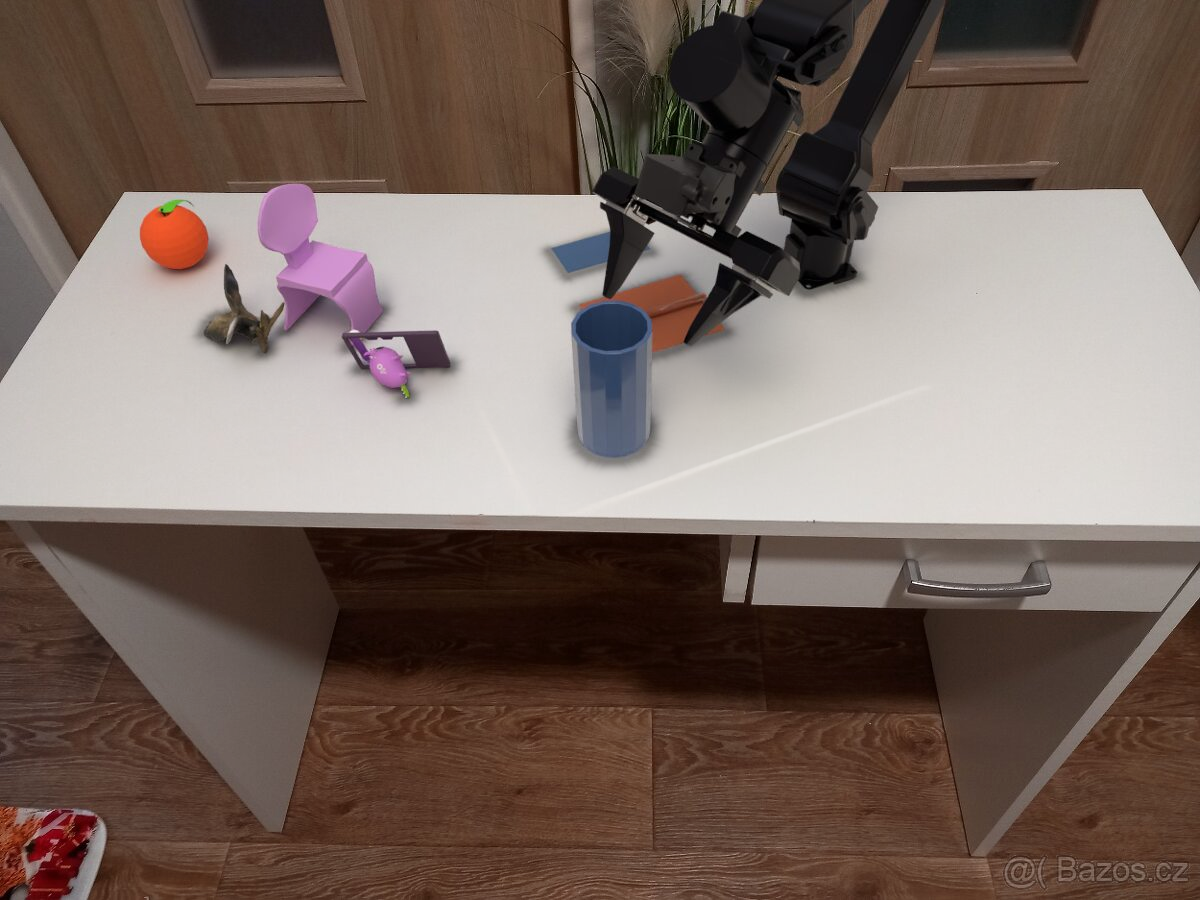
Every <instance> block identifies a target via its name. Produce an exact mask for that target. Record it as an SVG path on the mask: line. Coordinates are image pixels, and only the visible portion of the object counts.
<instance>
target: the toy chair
mask: <svg viewBox="0 0 1200 900" xmlns="http://www.w3.org/2000/svg"><path fill="white" fill-rule="evenodd" d="M317 208H318V207H317V202H316V197H315V194H314V192H313V190H312V189H311V187H310V186H308V185H306V184H304V183H287V184H282V185H278V186H276V187H273V188H271V189H269V191H268V192H266V193H265V195H264V196H263V197H262V200H261V203H260V206H259V209H258V210H259V211H258V216H257V236H258V239H259V242H260V244H261V245H262V246H263V247H264V249H267V250H269V251H272V252H275V253H279V254H281V255H283V257H284V259H285V261H286V263H287V265H286V266H285V267H284V268H283V269H282V270H281V271H280V272H279V273H278V274H277V275H275V278H276V282H277V285H276V289H277V290H278V292H279V293H280V295H281V296H282V298H283V301H284V303H285V305H284V306H285V316H284V317H285V318H284V325H283V331H288V330H289V329H290V328H291V327H292V326H293V325H294V324H295V323H296V322H297V321H298V319H300V317H302V316H303V314H304V313H305V312H307V310H308V309H309V308H310V307H311V306H312V305H313V304H314V302H316V300H317V299H318V298H319V297H320V296H322V297H326V298H328V299H330V300H332V301H333V302H334V303H335V304H336V305H337V306H338V307H339V308H340V309H342V310H343V311H344V312H345V313H346V315H347V316H348V318H349V319H350V327H351V328H350V331H351V330H358V331H359V332H368V330H369V329H370V327H372V325H373V324H374V323H375V322H376V321H377V320H378V319H379V317H380V316H381V315H382V314H383V312H384V309H383V307H382V305H381V303H380V300H379V297H378V292H377V286H376V278H375V270H374V267H373V264H372V263H371V262H370V260H369V259H368V256H367V255H368V254H367V253H366V252H363V251H359V250H354V249H348V248H343V247H338V246H334V245H331V244H328V243H325V242H321V241H316V240H311V241H310V236H311V235H312V233H313V231H314V230H315V228H316V226H317V224H318V222H319V218H318V209H317ZM350 342H351V344H352V346H353V347H355V345H354V344H353V342H352V341H351V340H350Z"/></svg>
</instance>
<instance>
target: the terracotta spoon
mask: <svg viewBox="0 0 1200 900" xmlns="http://www.w3.org/2000/svg"><path fill="white" fill-rule="evenodd" d="M696 294H697V295H693V296H690V297H687V298H684V299H680V300H677V301H674V302H671V303H667V304H664V305H661V306H658V307H654V308H651V309H648V310H645V312H646V313H647V315H648V316H649V317H650V318H652V317H655V316H658V315H661V314H665V313H668V312H671V311H674V310H678V309H681V308H684V307H687V306H690V305H694V304H697V303H700V302H705V300H706V299H707V297H708V295H707V294H706V293H705V292H700V293H696Z"/></svg>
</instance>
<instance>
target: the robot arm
mask: <svg viewBox="0 0 1200 900" xmlns="http://www.w3.org/2000/svg"><path fill="white" fill-rule="evenodd" d="M872 1H873V0H761V1H760V2H759V3H758V5H757V6H755V8H753V9H752V10H751V11H749V12H748V13H747V14H745V15H744V16H740V15H737V14H734V13H732V12H728V11H726V10H722V11H720V13H719V14H718V16H717V18H716V20H715V23H714V24H711V25H707V26H703V27H701V28H699V29H697V30H695V31H693V32H692V33H691V34H689V35H688V36H687V37H685V39H684V40H683V41H682V42H681V43H679V44H678V45H677V46H676V48H675V50H674V51H673V54H672V56H671V58H670V62H669V69H668V77H669V79H668V80H669V82H670V86H671V88H672V90H673V91H674V93H675V94H676V96H678V97H679V98H680V99H681V100H682V102H684V103H685V104H686V106H687V107H689V108H690V109H691V110H692V111H693V112H694V113H695V114H696V115H697V116H698V117H699V118H700V119H701V120H702V121H703V122H704V123H705V124H706V125H707V126H709V128H708V130H707V132H706V134H705V136H704V138H703V140H702V141H701V142H699V141H697V140H695V139H693V140H692V142H691V143H690V144H689V145H687V147H686V149H685V151H684V153H683V154H682V155H681V156H677V155H673V154H655V153H654V154H653V153H647V154H645V157H644V160H643V163H642V166H641V170H640V174H639V177H637V176H634V175H632V174H630V173H628V172H626V171H624V170H622V169H620V168H618V167H616V166H611V167H610V168H609V169H607V170H605V171H603V172H602V173H601V174H600V175H599V177H598V179H597V181H596V183H595V185H594V187H593V189H592V191H591V193H592V194H594V195H595V196H596V197H599V198H601V199H602V200H603V201H605V203H604V202H602V201H600V202H599V209H600V210H601V211H604V213H605V215H606V219H607V222H608V225H609V226H608V227H609V232H610V244H609V253H608V260H607V262H606V266H605V267H606V268H605V274H604V279H603V280H604V281H603V288H602V293H601V294H602V297H605V298H608V299H612V297H613V296H614V295H615V294H616V293H618V291H619V290H620V289H621V288H622V286H623V284H624V283H625V281H626V280H627V279H628V276H629V275H630V273H631V272H632V270H633V269H634V268H635V266H636V264H637V262H638V261H639V260H640V258H641V256H642V254H643V253H644V252H645V251H644V250H645V248H646V247H647V245H648V246H649V243H650V242H651V240H652V239H653V237H654V235H655V234H656V233H655V232H654V231H652V230H651V229H649V228H647V227H646V226H645V224H646V225H651V224H654V223H656V222H657V223H658V224H659V223H660V224H662V225H663V226H665V227H667V228H669V229H671V230H673V231H675V232H677V233H679V234H681V235H683V236H685V237H686V238H688V239H691V240H693V241H695V242H697V243H699V244H701V245H703V246H705V247H707V248H708V249H711V250H713V251H715V252H717V253H719V254H720V255H723V256H724V257H727V258H729V259H730V260H731V262H732V265H733V266H732V267H729V266H728V265H726V264H723V263H722V262H719V263H718V267H717V272H716V277H715V282H714V285H713V287H712V289H711V290H710V292H709V294H708V295H707V299H706V300H705V301H703V302H704V304H703V305H702V307H701V309H700V310H699V312H698V314H697V315H696V317H695V319H694V320H693V322H692V324H691V325H690V327H689V330H688V332H687V334H686V336H685V339H684V343H683V344H685V345H687V346H688V347H692V346H693V345H695V344H696V343H697V342H698V341H700V340H701V339H703V338H704V337H706V336H707V335H706V334H708V333H709V332H710V331H711V330H713V329H714V328H715V327H716V326H718V325H719V324H720V323H721V324H722V323H723V322H724V321H725V320H727V319H728V318H729V317H731V316H732V315H733V314H735V313H736V312H738V311H739V310H741V309H743V308H744V307H746V306H747V305H749V304H750V303H753V302H754V301H756V300H757V299H759V298H760V297H764V298H766V299H768V300H770V299H771V298H772V297H773V295H774V293H773V292H772V291H771V290H772V289H773V290H775V291H777V292H779V293H781V294H783V295H784V296H787V297H790V295H791V293H792V292H793V290H794V288H795V286H796V284H797V283H799V285H801V286H802V287H803V288H804V289H805V290H807V291H811V290H814V289H817V288H820V287H824V286H826V285H830V284H834V285H835V284H839V283H842V282H845V281H848V280H852V279H854V278H856V277H857V275H858V271H857V270H856V268H854V267H853V266H852V265H851V263H850V261H851V256H852V252H853V247H854V243H855V241H864V240H865V239H867V238H868V234H869V230H870V227H872V225H873V223H874V221H875V219H876V215H877V212H878V209H879V205H878V203H876V202H875V200H874V199H873V198H872V197H871V195H869V193H868V191H869V189H870V186H871V184H872V182H873V179H874V164H873V144H874V142H875V139H876V138H877V136H878V134H879V132H880V130H881V128H882V126H883V124H884V122H885V120H886V118H887V115H888V114H889V112H890V111H891V108H892V107H893V104H894V102H895V100H896V98H897V96H898V95H899V93H900V90H901V89H902V86H903V85H904V83H905V81H906V79H907V77H908V75H909V74H910V70H911V69H912V67H913V65H914V63H915V61H916V59H917V58H918V55H919V53H920V52H921V49H922V48H923V46H924V44H925V42H926V40H927V38H928V36H929V34H930V32H931V30H932V28H933V27H934V24H935V22H936V21H937V18H938V16H939V14H940V13H941V11H942V9H943V6H944V4H945V2H946V1H947V0H887V1H886V3H885V6H884V8H883V10H882V12H881V14H880V16H879V18H878V19H877V22H876V24H875V26H874V28H873V30H872V32H871V34H870V36H869V38H868V40H867V42H866V44H865V46H864V49H863V51H862V53H861V54H860V57H859V59H858V60H857V63H856V64H855V67H854V68H853V71H852V73H851V75H850V76H849V79H848V82H847V83H846V85H845V86H844V89H843V91H842V93H841V95H840V98H839V99H838V101H837V104H836V105H835V107H834V110H833V112H832V114H831V115H830V118H829V119H828V121H827V123H826V124H824V125H823V126H821V127H819V128H818V129H817V130H816V131H814V132H813V133H810V132H808V131H805V132H803V133H802V134H801V135H800V136H799V137H798V138H797V140H796V142H795V145H794V147H793V150H792V152H791V154H790V156H789V157H788V160H787V162H786V163H785V164H784V166H783V167H782V168H781V170H780V172H779V174H778V176H777V179H776V184H775V193H776V201H777V208H778V214H779V215H780V216H782V217H786V218H788V219H791V221H790V228H789V233H788V234H786V236H785V238H784V239H785V240H784V246H783V247H781V246H779V245H777V244H775V243H773V242H770V241H769V240H767V239H764V238H763V237H760V236H759V235H756V234H754V233H752V232H750V231H748V230H746V231H744V232H743V233H741V231H742V228H740V227H739V226H738V225H737V224H738V222H739V220H740V219H741V216H742V215H743V213H744V211H745V209H746V208H747V205H748V204H749V202H750V200H751V199H752V197H753V195H754V194H755V195H757V196H759V197H760V196H762V193H763V192H764V190H765V188H766V186H767V184H766V183H765V182H764V181H763V180H762V178H763V176H764V175H765V173H766V171H767V169H768V167H769V165H770V163H771V162H772V159H773V158H774V156H775V155H776V153H777V151H778V149H779V147H780V146H781V143H782V141H783V140H784V138H785V136H786V134H787V132H788V130H789V129H790V128H791V125H794V126H796V127H800V126H802V125H803V122H804V109H803V106H802V92H801V91H800V90H798V89H795V88H793V87H790V86H789V85H785V84H783V83H782V82H781V81H779V80H778V79H776V76H777V77H780V78H782V79H785V80H788V81H790V82H793V83H796V84H798V85H801V86H805V85H807V86H811V87H816V88H818V87H820V86H822V85H824V84H825V83H826V82H827V81H828V80H829V79H830V78H831V77H832V76H834V75H835V74H836V73H837V72H838V71H839V70H840V68H841V66H842V65H843V63H844V61H845V60H846V59H847V55H848V54H849V52H850V51H851V49H852V48H853V46H854V44H855V43H854V41H855V30H856V29H855V28H856V22H857V20H858V19H859V17H860V16H861V15H862V14H863V12H864V10H865V9H866V8H867V7H868V6H869V4H871V2H872ZM690 218H691V220H690V221H689V219H690ZM705 226H706V227H708V228H710V229H712V230H713V231H714V233H713V235H711V234H710V233H707V232H706V231H704V228H705ZM740 233H741V234H740ZM705 335H706V336H705Z"/></svg>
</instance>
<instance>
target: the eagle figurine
mask: <svg viewBox="0 0 1200 900" xmlns="http://www.w3.org/2000/svg"><path fill="white" fill-rule="evenodd" d="M223 292H224V297H225V300H226V302H227V304H228V306H229V308H230V311H229V312H225V313H219V314H218V315H216V316H215V317H214V318H212V320H211V321H210V320H209V322H208V325H207V326H205V328H204V330H203V336H204V337H209V338H211V339H212V340H214V341H215V342H223V341H224V340H225V339H226V340H225V341H226V342H225V344H226V345H228V344H229V343H230V342H231V341H232V339H233V336H234V334H240V335H243V336H244V337H245V338H248V339H250V340H252V342H251V343H252V344H253V345H256V344H257V343H258V342H259V347H260V348H261V349H262V352H263V353H264V354H266V353H267V344H268V340H269V335H270V333H271V329H272V327H273V325H274V324H275V323H276V322H277V320H278V318H279V317H280V316H281V314H282V313H283V312H284V309H285V306H286V305H285V301H284V302H283V301H282V302H281V303H280V305H279V306H278V307H277V309H276V310H275V311H274V313H273V314H272V316H271V317H270V315H268V314H267V312H264V310H263V309H260V315H259V316H260V317H258V316H256V315H254V314H253V313H252V312H250V311H249V310H247V308H246V307H245V306H244V303H243V300H242V296H241V293H240V286H239V282H238V281H237V279H236V277H235V274H234V272H233V270H232V269H231V268H230V265H228V264H227V263H224V268H223Z"/></svg>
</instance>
